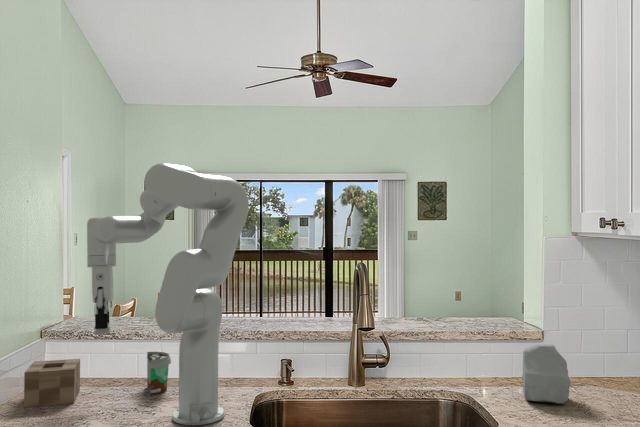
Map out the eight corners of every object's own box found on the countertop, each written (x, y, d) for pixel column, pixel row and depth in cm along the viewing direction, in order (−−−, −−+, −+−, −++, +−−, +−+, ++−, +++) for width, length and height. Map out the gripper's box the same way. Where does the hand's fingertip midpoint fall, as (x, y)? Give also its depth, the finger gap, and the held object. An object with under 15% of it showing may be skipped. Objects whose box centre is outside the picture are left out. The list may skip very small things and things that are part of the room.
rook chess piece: (113, 331, 159) (113, 303, 159) (106, 334, 154) (105, 305, 154) (98, 331, 159) (98, 303, 159) (90, 334, 155) (90, 305, 155)
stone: (566, 395, 157) (565, 341, 157) (571, 409, 145) (571, 351, 146) (521, 391, 161) (521, 338, 161) (523, 404, 149) (523, 347, 149)
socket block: (74, 403, 149) (74, 369, 149) (24, 407, 146) (24, 372, 146) (79, 390, 161) (80, 358, 161) (33, 393, 157) (34, 361, 157)
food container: (173, 395, 156) (173, 359, 157) (150, 397, 154) (150, 361, 154) (168, 383, 168) (168, 349, 168) (146, 385, 166) (147, 351, 166)
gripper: (113, 262, 150) (114, 331, 150) (117, 259, 166) (118, 321, 166) (83, 263, 148) (84, 333, 147) (90, 260, 164) (91, 323, 164)
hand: (102, 326), depth 157 cm, fingers closed on rook chess piece, 4 cm apart
